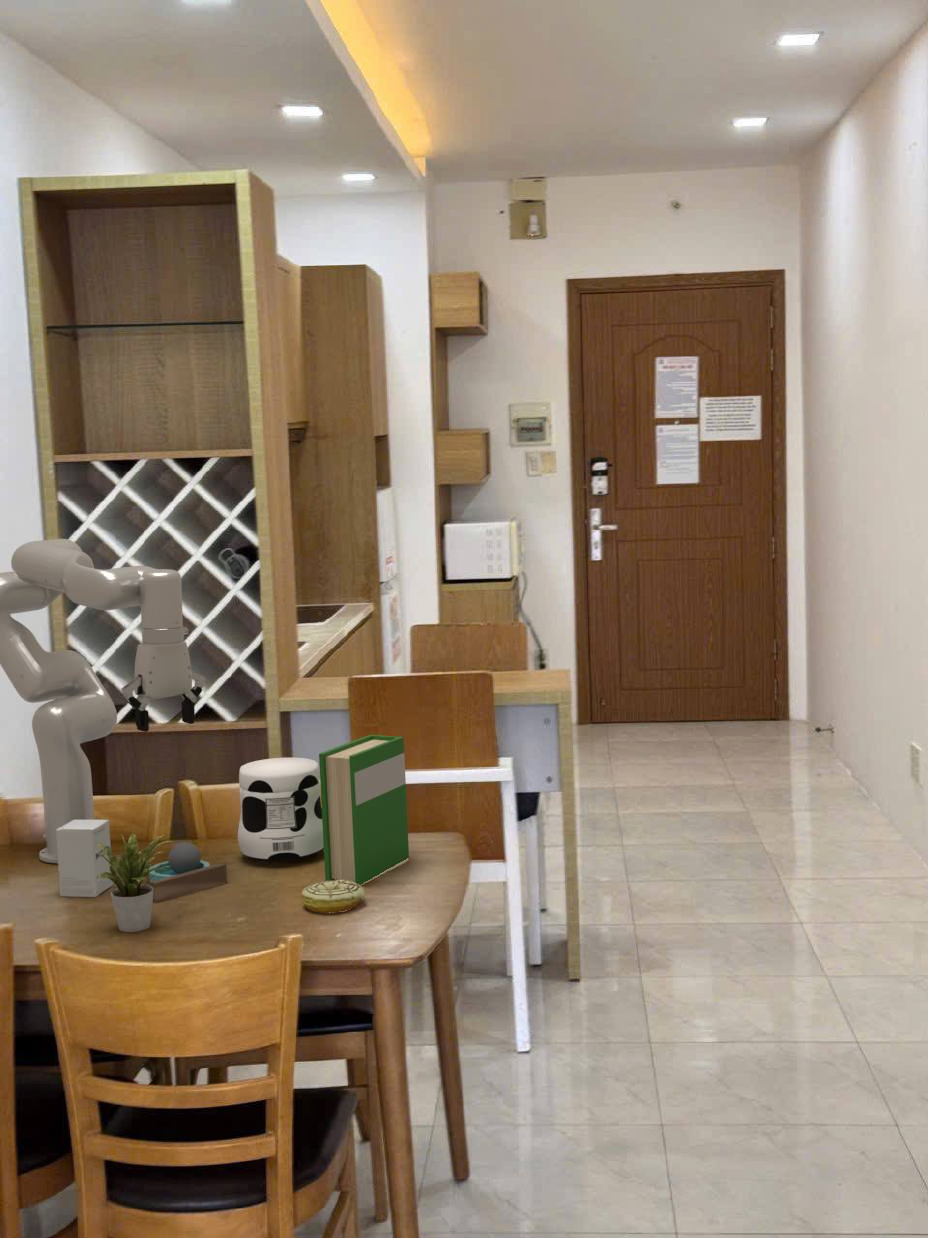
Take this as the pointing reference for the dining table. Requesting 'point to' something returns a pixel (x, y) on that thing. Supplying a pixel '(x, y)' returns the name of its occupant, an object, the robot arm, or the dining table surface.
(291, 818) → the milk container
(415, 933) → the dining table surface
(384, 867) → the hardback book
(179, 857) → the charcoal ball
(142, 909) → the house plant
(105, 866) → the supplement box
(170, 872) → the teal dish
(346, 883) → the decorated donut
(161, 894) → the brown wooden bar
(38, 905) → the dining table surface
